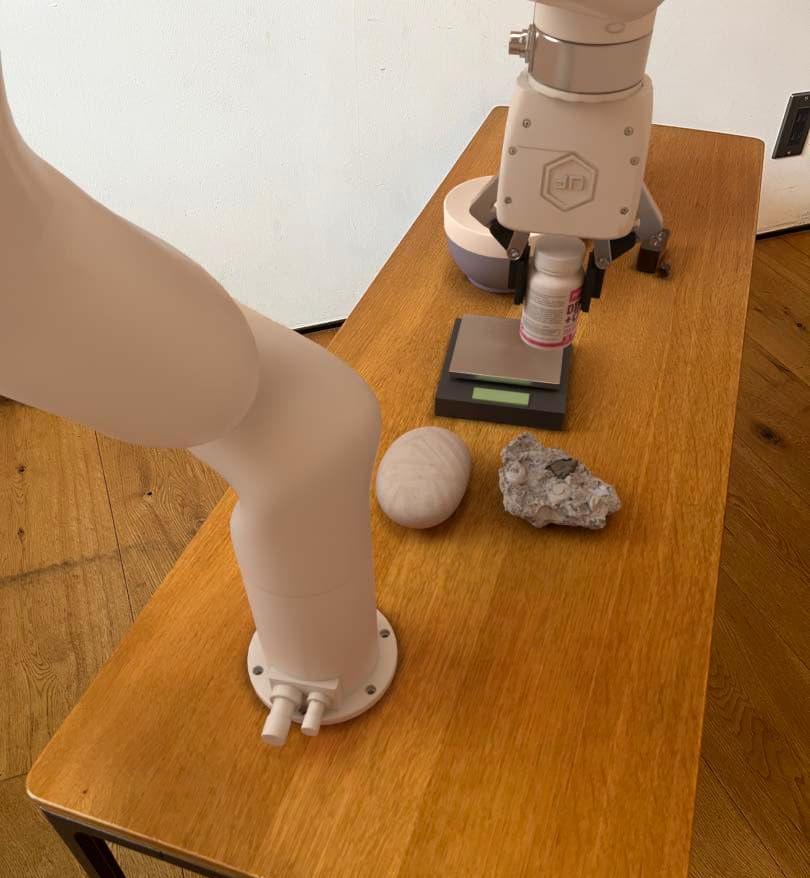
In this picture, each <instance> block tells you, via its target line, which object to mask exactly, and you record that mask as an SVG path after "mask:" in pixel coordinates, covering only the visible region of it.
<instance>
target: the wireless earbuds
mask: <svg viewBox="0 0 810 878" xmlns="http://www.w3.org/2000/svg"><path fill="white" fill-rule="evenodd" d="M670 235H671V230H670V228H666V227H663V229H662V231H661V232H659V233H658V234H656V235H654V236H652V237H650V238H648V239H646V240H644V241H642V242H640V246H639V248H638V252H637V253H638V254H637V257H636V262H635V268H636V269H637V270H640V271H644V272H649V273H653V272H655V271H656V270H657V269H658V270H657V275H658V276H660V277H663V278H669V275H670V270H671V269H672V264H671V263H670V262H666V263H664V264H663V265H660V267H659V268H658V266H659V264H660V263H661V260H662V258H663V256H664V255H665V252H666V249H667V246H668V243H669V238H670Z"/></svg>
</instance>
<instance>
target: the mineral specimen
mask: <svg viewBox="0 0 810 878" xmlns="http://www.w3.org/2000/svg"><path fill="white" fill-rule="evenodd" d="M499 453H500V458H502V465H503V466H502V467H501V468H500V469H498V470H497V471H498V476H499V481H498V484H499V489H500V493H502V494H503V495H502V496H503V497H502V499H503V501H502V503H503V507H504V510H505V512H507V513H510V514H511V516H512V515H513V516H514V517H518V518H519V517H520V518H521V519H522V520H526V521H527V523H530V524H531V526H533V527H535V528H542V527H545V526H547V525H548V524H551V523H552V524H554V525H555V524H556V525H558V526H563V525H564V526H571V527H578V526H582V527H583V528H589V529H590V530H593V529H594V530H598V529H603V528H604V527H605V526H606V525H607V522H606V521H607V519H606V516H610V515H612V514H613V513H614V512H617V511H619V510H620V509H622V504H623V503H622V501H621V500H620V498H619V496H618V493H617V491H616V489H615V486H614V485H613V484H609V483H607V482H605V480H602V478H601V477H596V476H594V474H593V472H592V471H591V470H590V468H589V467H588V466H586V465H585V463H584V462H582V461H581V460H578V459H576V458H575V459H574V458H573V456H572V455H570V454H569V452H568V451H567V450H563V449H559V448H558V449H557V448H554V447H545V445H544V444H543V443H542V442H540V441H538V439H537V437H536V436H535V435H534V434H533V433H531V432H528V431H524V432H523V434H522V433H521V434H519V435H515V438H514V439H512V440H511V441H510V442H508V444H507V445H506V446H505V447H504V448H502V451H500V452H499Z"/></svg>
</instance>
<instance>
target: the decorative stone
mask: <svg viewBox="0 0 810 878" xmlns="http://www.w3.org/2000/svg"><path fill="white" fill-rule="evenodd" d="M470 453H471V452H470V450H469V448H468V446H467V444H466V443H465V442H464V441H463V439H462V438H461V437H460V436H459V435H458V434H456V433H455V432H453V431H452V430H449V429H447V428H444V427H440V426H433V425H427V426H420V427H417V428H413V429H411V430H409V431H407V432H405V433H403V434H401V435H400V436H399V437H397V438H396V439H395V440H394V441H393V442H392V443H391V444H390V446H389V447H388V448H387V450H386V452H385V453H384V455H383V457H382V459H381V460H380V463H379V465H378V469H377V472H376V478H375V494H376V498H377V500H378V504H379V506H380V508H381V510H382V512H383V513H384V514H385V515H386V516H387V517H388V518H389V519H390V520H391V521H392V522H394V523H396V524H398V525H400V526H403V527H405V528H408V529H409V528H410V529H421V530H422V529H429V528H432V527H435V526H437V525H439V524H441V523H443V522H445V521H446V520H447V519H449V517H450V516H452V515H453V513H454V512H455V511H456V510H457V508H458V506H459V505H460V504H461V502H462V499H463V497H464V495H465V493H466V490H467V487H468V484H469V482H470V476H471V472H472V458H471V454H470Z"/></svg>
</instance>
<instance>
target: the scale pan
mask: <svg viewBox="0 0 810 878" xmlns="http://www.w3.org/2000/svg"><path fill="white" fill-rule="evenodd" d="M461 318H462V321H461V325H460V329H459V333H458V337H457V341H456V345H455V349H454V353H453V357H452V361H451V365H450V368H449V377H455V378H464V379H472V380H481V381H489V382H498V383H507V384H515V385H524V386H532V387H541V388H549V389H559V384H560V375H561V366H562V357H563V349H560V350H555V351H545V350H540V349H536V348H533V347H531V346H529V345H528V344H526V343H525V342H524V341H523V339H522V338H521V335H520V324H521V318H520V319H518V318H510V317H502V316H501V317H499V316H492V315H481V314H472V313H462V317H461Z"/></svg>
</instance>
